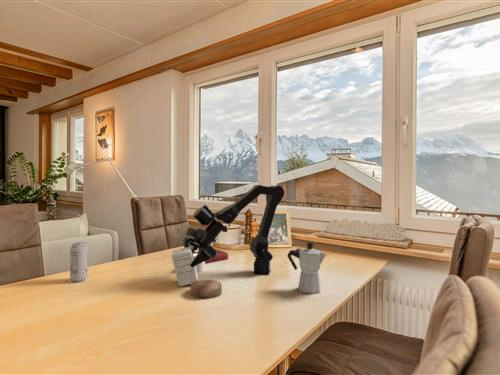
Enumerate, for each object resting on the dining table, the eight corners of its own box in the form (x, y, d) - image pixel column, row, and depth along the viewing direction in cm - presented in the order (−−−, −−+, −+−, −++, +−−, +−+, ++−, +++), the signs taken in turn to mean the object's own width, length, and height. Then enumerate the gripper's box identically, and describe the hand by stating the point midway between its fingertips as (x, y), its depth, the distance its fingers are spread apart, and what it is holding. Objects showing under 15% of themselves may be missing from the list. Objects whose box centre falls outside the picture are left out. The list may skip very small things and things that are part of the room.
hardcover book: (228, 260, 161) (228, 252, 161) (193, 267, 147) (193, 258, 147) (214, 255, 170) (214, 248, 170) (180, 262, 156) (180, 253, 156)
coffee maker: (327, 288, 119) (328, 241, 119) (325, 296, 111) (326, 245, 111) (289, 283, 124) (290, 238, 124) (284, 290, 116) (285, 242, 116)
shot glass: (202, 272, 137) (202, 257, 137) (187, 271, 139) (187, 256, 138) (207, 268, 144) (207, 253, 144) (193, 267, 145) (193, 252, 145)
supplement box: (180, 280, 126) (173, 250, 125) (198, 275, 127) (191, 245, 126) (178, 287, 119) (170, 255, 118) (197, 282, 119) (190, 250, 118)
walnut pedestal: (225, 289, 117) (225, 281, 117) (215, 300, 106) (215, 291, 106) (197, 286, 119) (197, 278, 119) (185, 296, 109) (185, 288, 109)
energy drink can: (89, 280, 125) (89, 243, 125) (73, 283, 121) (73, 245, 120) (84, 277, 129) (84, 241, 129) (67, 280, 125) (67, 243, 124)
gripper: (187, 217, 132) (162, 246, 126) (210, 223, 118) (183, 256, 111) (203, 234, 137) (179, 263, 131) (227, 242, 123) (202, 274, 116)
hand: (185, 263), depth 122 cm, fingers closed on supplement box, 9 cm apart
